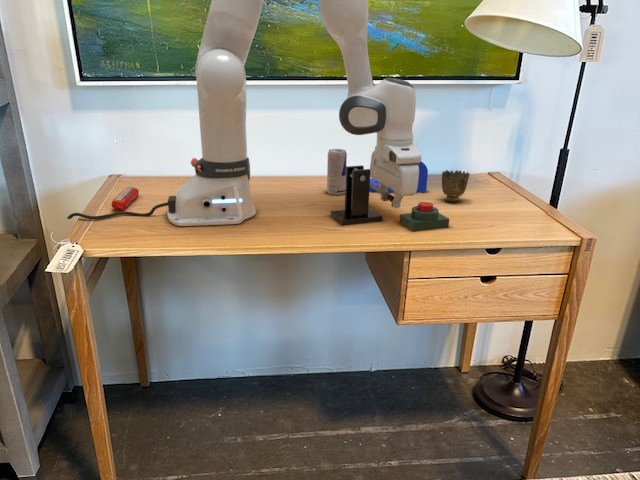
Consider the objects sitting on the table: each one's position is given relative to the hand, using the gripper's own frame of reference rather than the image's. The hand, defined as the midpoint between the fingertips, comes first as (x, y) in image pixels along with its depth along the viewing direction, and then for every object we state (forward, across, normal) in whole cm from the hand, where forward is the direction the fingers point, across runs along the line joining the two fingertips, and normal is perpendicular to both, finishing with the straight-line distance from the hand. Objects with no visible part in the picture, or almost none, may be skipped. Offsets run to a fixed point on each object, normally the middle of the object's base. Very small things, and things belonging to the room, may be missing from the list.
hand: (390, 204), depth 151 cm
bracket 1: (+3, 0, -9) cm, 10 cm away
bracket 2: (+3, -23, +13) cm, 27 cm away
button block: (+3, +10, +5) cm, 11 cm away
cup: (+3, -6, +23) cm, 24 cm away
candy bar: (+3, -31, -64) cm, 71 cm away
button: (-1, +10, +5) cm, 11 cm away
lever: (-4, 0, -6) cm, 7 cm away
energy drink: (+3, -24, -6) cm, 25 cm away
